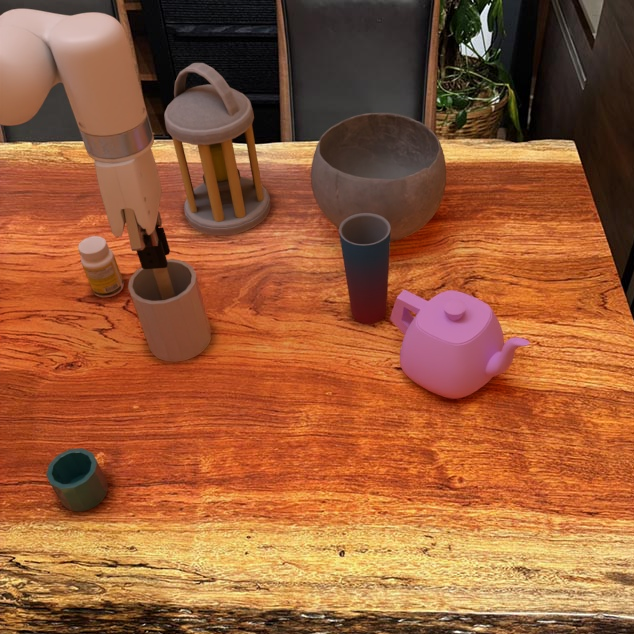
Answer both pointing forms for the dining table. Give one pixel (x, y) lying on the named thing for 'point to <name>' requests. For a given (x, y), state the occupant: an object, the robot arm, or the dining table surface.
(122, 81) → the robot arm
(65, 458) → the holder
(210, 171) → the lantern
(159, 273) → the wooden handled tool
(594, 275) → the dining table surface
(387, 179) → the bowl
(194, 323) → the grey pencil pot
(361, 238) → the cup
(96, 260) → the supplement bottle
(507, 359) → the teapot
